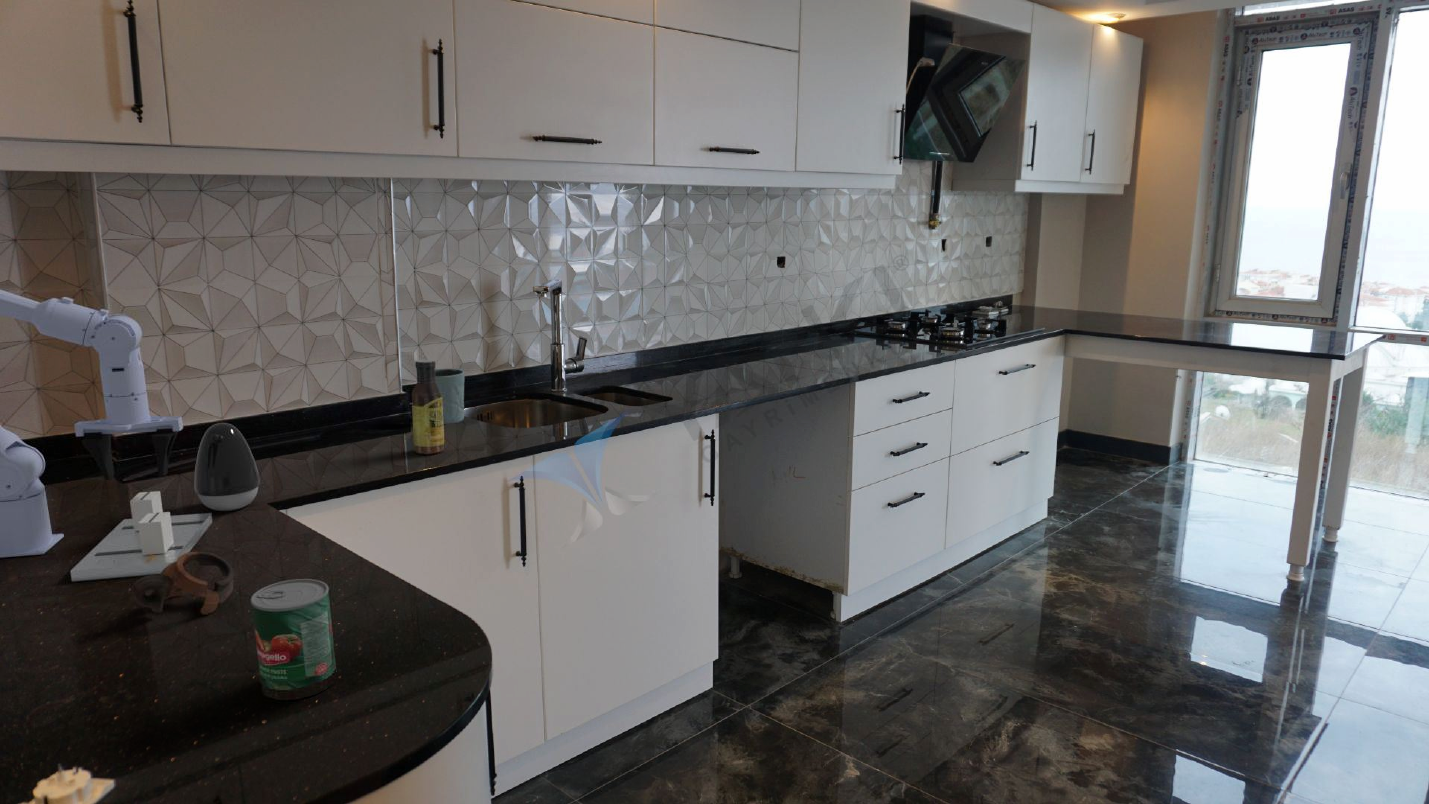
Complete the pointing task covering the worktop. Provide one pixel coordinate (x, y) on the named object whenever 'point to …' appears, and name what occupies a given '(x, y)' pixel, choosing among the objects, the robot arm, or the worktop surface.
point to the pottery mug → (185, 583)
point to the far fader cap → (145, 506)
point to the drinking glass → (451, 393)
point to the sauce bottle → (427, 410)
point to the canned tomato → (293, 633)
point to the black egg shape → (225, 469)
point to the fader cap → (155, 533)
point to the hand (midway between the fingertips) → (136, 476)
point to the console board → (139, 550)
